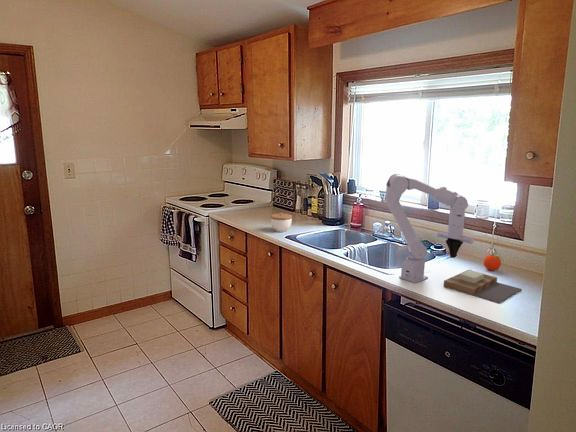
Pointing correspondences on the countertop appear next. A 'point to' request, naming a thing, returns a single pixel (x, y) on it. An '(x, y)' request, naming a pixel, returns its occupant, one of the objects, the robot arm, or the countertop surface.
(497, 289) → the mat
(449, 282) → the board
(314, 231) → the countertop surface
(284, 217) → the lidded bowl
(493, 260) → the clementine
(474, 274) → the tile
